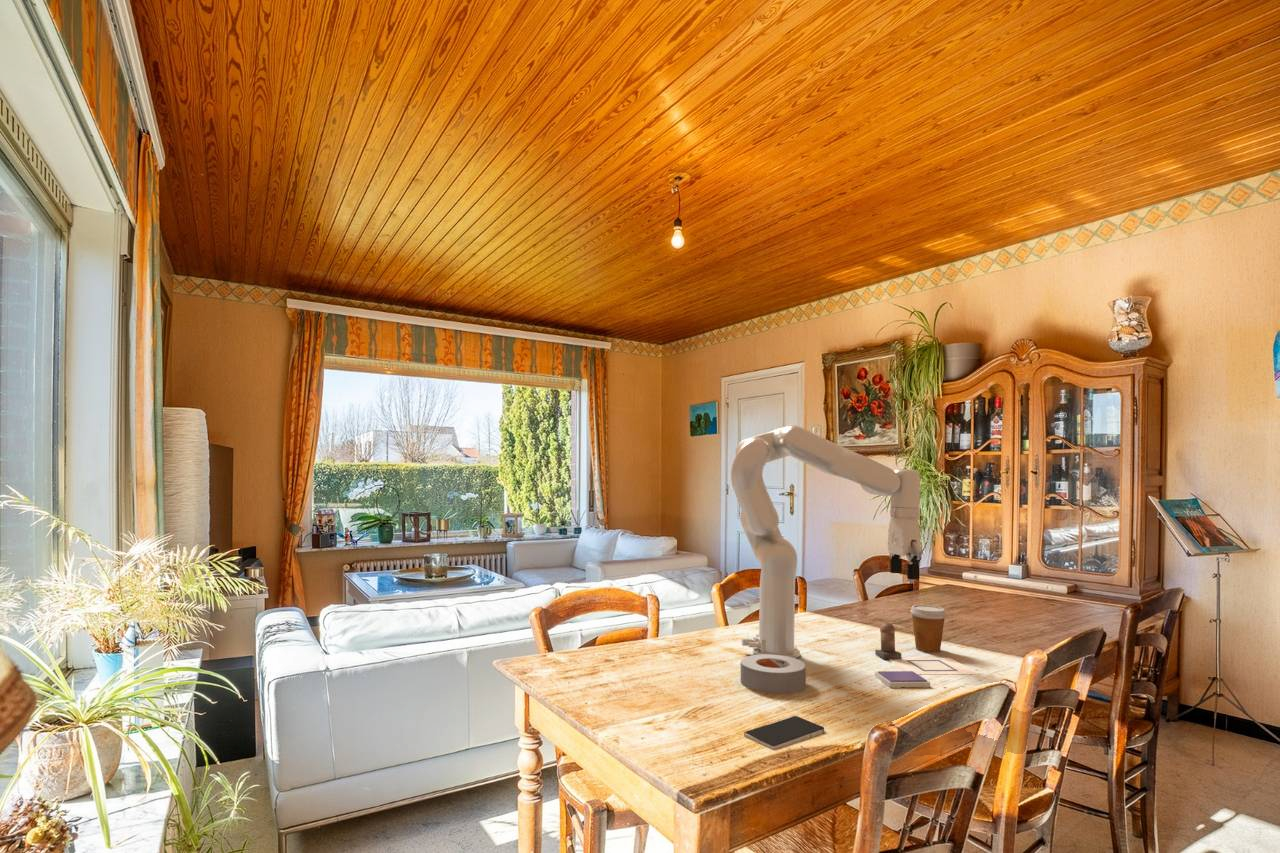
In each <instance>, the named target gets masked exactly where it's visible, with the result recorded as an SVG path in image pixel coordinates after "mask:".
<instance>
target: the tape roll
mask: <svg viewBox="0 0 1280 853" xmlns="http://www.w3.org/2000/svg"><path fill="white" fill-rule="evenodd" d="M806 671H807V670H806V664H805V662H804V661H803V660H800V659H798V658H792V657H788V656H782V655H772V654H759V655H755V654H753V655H752V654H751V655H748V656H745V657H744V658H741V660H740V685H742V686H743V687H745V688H747V689H748V690H751V689H752V690H751V691H754V690H755V692H758V691H759V693H762V692H763V694H769V693H771V694H772V695H793V694H796V693H800V692H803V691H804V690H805V689H806V687H807V672H806ZM792 693H793V694H792ZM771 694H770V695H771Z"/></svg>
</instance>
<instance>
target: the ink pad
mask: <svg viewBox="0 0 1280 853" xmlns="http://www.w3.org/2000/svg"><path fill="white" fill-rule="evenodd" d="M874 677H876V679H878V680H879V681H880V682H881V683H882V684H884V685H885V686H886V685H887V686H886V687H888V688H889V689H891V688H892V689H893V688H894V689H895V688H896V689H899V688H901V687H923V688H931V682H930V681H929V680H927V679H926V678H924V677H923V676H921V675H918V674H916V673H915V672H913V671H905V670H901V671H900V670H899V671H898V670H895V671H894V670H893V671H890V670H886V671H885V670H884V671H883V670H881V671H875V672H874ZM901 689H902V688H901Z"/></svg>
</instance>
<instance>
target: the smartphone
mask: <svg viewBox="0 0 1280 853" xmlns="http://www.w3.org/2000/svg"><path fill="white" fill-rule="evenodd" d="M823 733H825V727H824V726H822V725H819V724H817V723H814V722H812V721H809V720H807V719H804V718H802V717H800V716H797V715H793V716H792V715H791V716H789V717H786V718H782V719H780V720H777V721H774V722H771V723H768V724H766V725H762V726H759V727H755V728H753V729H750V730H747V731H744V732H743V737H746V738H747V739H749V740H752V741H753V742H756V743H758V744H760V745H762V746H765V747H766V748H769V749H771V750H776V749H779V748H782V747H786V746H789V745H792V744H794V743H797V742H801V741H803V740H806V739H809V738H813V737H816V736H819V735H822V734H823Z"/></svg>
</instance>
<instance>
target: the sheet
mask: <svg viewBox="0 0 1280 853" xmlns="http://www.w3.org/2000/svg"><path fill="white" fill-rule="evenodd" d="M887 660H888V661H890V662H891V663H893V664H894V665H896V666H898V667H899V668H900V669H902V671H913V672H915V673H916V674H918V675H919V676H921V675H923V676H929V675H930V676H932V675H933V676H935V675H936V676H937V675H938V676H939V675H941V676H942V675H946V676H947V675H951V676H953V675H980V673H979V672H978V671H975V670H973V669H971V668H969V667H968V666H966V665H964V664H962V663H960V662H959V661H957V660H955V659H953V658H951V657H901V659H887Z"/></svg>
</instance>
